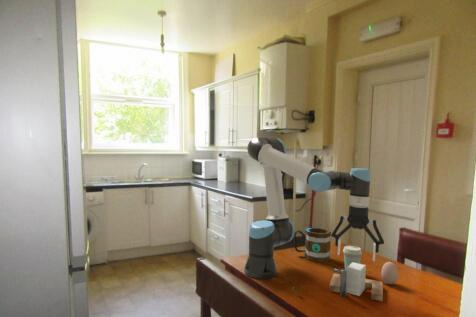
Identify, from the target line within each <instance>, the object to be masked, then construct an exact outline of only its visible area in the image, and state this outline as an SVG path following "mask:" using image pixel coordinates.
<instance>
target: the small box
mask: <svg viewBox="0 0 476 317" xmlns="http://www.w3.org/2000/svg"><path fill="white" fill-rule="evenodd" d="M366 268H367V265H366V264H363V263H360V264H358V263H354V262H352V263H351V264H350V265H349V266H348V267H347V282H346V294H351V295H354V296H357V297H360V296H361V295H362V294H363V292H364V291H365V289H366V288H365V279H366V272H367V271H366V270H367V269H366Z"/></svg>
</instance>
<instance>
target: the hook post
mask: <svg viewBox="0 0 476 317" xmlns="http://www.w3.org/2000/svg"><path fill="white" fill-rule="evenodd" d="M332 271H333V273H337V274H340V293H339V296H341V297H345V298H346V297H347V292H346V282H347V270H345V268H344V269H343V268H342V269H338V268H337V269H336V268H333V269H332Z"/></svg>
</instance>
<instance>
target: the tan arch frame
mask: <svg viewBox="0 0 476 317" xmlns="http://www.w3.org/2000/svg"><path fill="white" fill-rule="evenodd" d="M328 288H329V292H333V293H338V294H340V273H336V272H333V273H332V277H331V279H330V283H329V286H328ZM365 289H367V290H368V289H370V290H371V300H374V301H379V302H383V301H384V300H383V299H384V293H383V281H379V280H375V279H368V278H365Z"/></svg>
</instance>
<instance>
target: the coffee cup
mask: <svg viewBox="0 0 476 317" xmlns="http://www.w3.org/2000/svg"><path fill="white" fill-rule="evenodd" d="M342 252H343V259H344V260H343V261H344V270H347V267H348V266H349V265H350V264H351V263H352V262H354V263H358V264H361V258H362V254H363V252H362V248H360V247H359V246H356V245H346V246H344V247H343V250H342Z"/></svg>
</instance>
